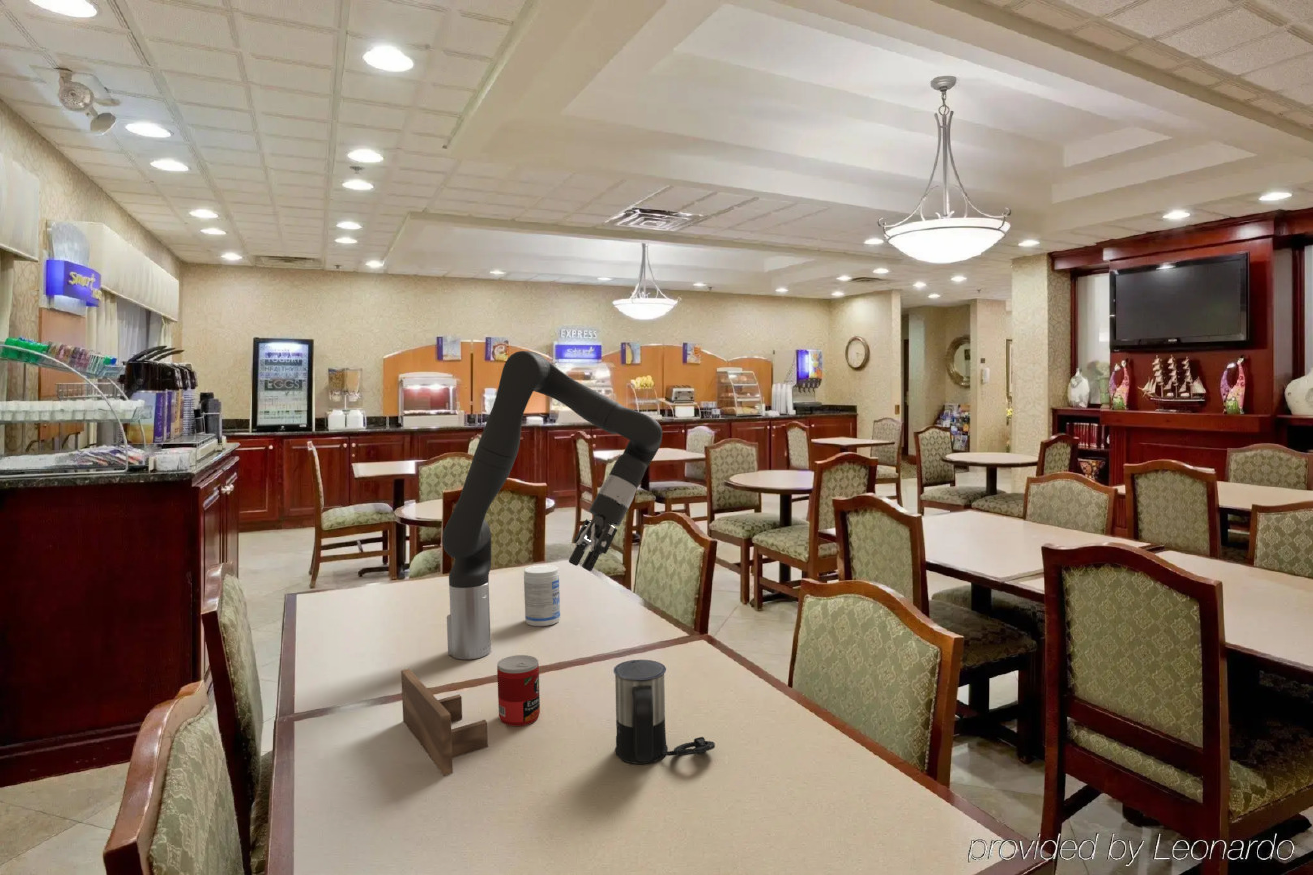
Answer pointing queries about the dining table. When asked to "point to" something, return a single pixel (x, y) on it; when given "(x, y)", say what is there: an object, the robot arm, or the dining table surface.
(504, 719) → the canned food
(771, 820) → the dining table surface
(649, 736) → the milk frother
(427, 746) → the walnut stop
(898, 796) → the dining table surface
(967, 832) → the dining table surface
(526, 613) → the supplement tub
